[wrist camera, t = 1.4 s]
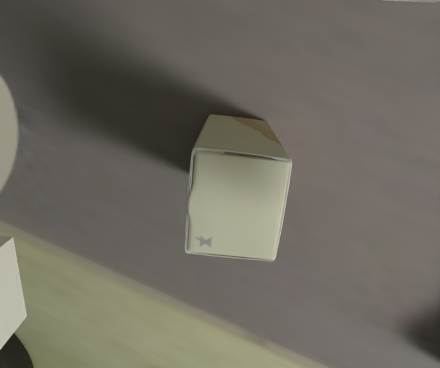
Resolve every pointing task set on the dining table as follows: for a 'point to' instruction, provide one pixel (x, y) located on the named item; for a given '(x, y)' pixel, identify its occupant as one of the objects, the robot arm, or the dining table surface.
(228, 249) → the box
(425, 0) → the tray
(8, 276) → the robot arm
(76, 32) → the dining table surface
